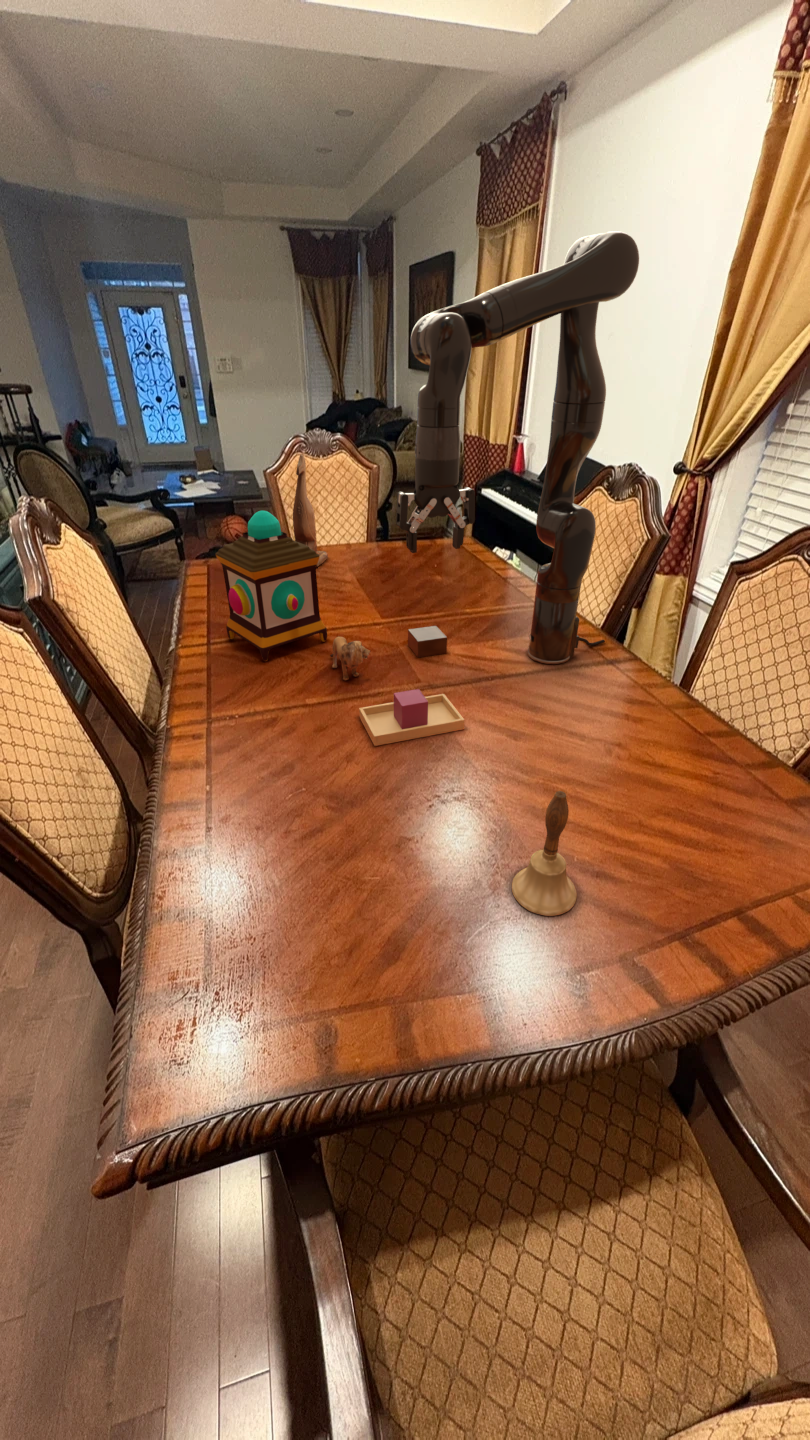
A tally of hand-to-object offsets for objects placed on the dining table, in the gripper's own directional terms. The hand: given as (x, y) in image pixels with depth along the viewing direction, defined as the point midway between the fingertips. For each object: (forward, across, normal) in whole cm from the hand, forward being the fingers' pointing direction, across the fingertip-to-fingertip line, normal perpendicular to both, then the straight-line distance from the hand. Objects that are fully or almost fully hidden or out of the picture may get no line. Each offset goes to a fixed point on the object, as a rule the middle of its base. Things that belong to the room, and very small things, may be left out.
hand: (434, 549), depth 111 cm
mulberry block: (+28, -9, -13) cm, 32 cm away
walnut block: (+28, +5, +16) cm, 33 cm away
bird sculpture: (+28, -9, +89) cm, 94 cm away
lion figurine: (+28, -15, +11) cm, 34 cm away
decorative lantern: (+28, -27, +32) cm, 51 cm away
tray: (+28, -9, -13) cm, 32 cm away
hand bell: (+28, -6, -57) cm, 64 cm away
